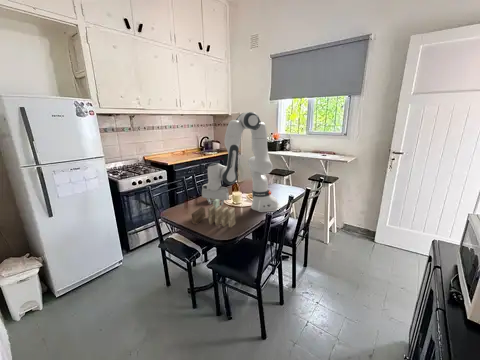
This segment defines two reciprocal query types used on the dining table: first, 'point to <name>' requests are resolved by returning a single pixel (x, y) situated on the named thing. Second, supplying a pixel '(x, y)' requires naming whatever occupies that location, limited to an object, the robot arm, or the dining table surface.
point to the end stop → (198, 215)
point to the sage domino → (216, 203)
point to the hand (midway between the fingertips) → (215, 204)
